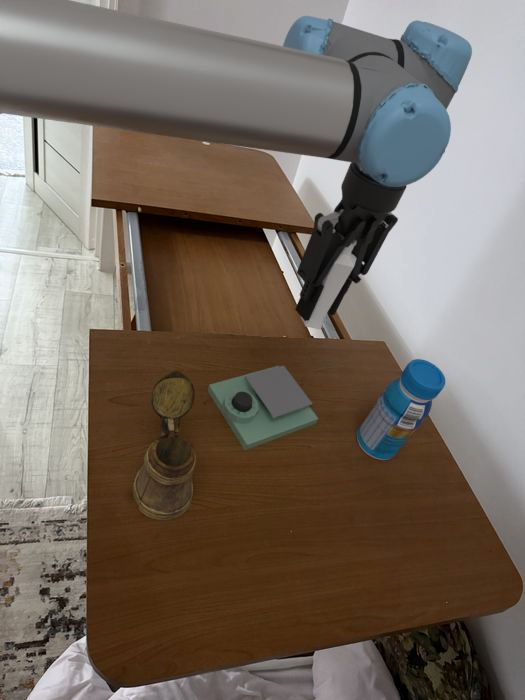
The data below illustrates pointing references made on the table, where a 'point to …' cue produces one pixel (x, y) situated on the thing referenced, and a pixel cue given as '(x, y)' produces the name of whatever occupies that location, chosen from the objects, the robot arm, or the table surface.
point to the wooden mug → (168, 454)
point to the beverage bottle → (400, 409)
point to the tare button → (242, 401)
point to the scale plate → (278, 392)
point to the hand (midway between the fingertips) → (315, 311)
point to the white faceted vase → (332, 286)
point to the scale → (255, 414)
